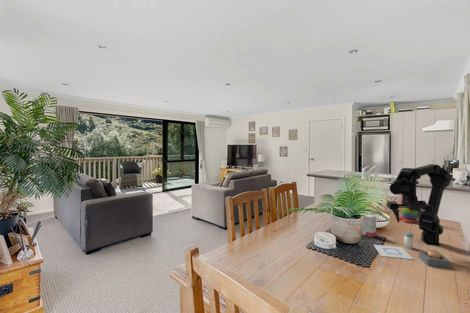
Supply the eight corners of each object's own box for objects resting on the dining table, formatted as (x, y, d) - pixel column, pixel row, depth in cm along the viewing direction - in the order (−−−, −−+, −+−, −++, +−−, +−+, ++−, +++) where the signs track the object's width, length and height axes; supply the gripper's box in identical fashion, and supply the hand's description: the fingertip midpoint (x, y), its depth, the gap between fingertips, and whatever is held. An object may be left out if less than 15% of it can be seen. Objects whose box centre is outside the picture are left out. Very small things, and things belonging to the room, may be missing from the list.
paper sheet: (401, 247, 120) (401, 247, 120) (413, 259, 107) (413, 258, 107) (373, 245, 123) (373, 244, 123) (381, 256, 111) (381, 255, 111)
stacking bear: (396, 218, 168) (397, 194, 167) (411, 218, 167) (412, 194, 166) (406, 223, 157) (406, 197, 156) (422, 223, 156) (423, 197, 155)
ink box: (376, 236, 136) (376, 216, 135) (372, 238, 133) (372, 217, 132) (361, 231, 143) (361, 212, 143) (357, 233, 140) (357, 214, 140)
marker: (411, 246, 121) (411, 233, 121) (414, 249, 118) (414, 235, 118) (402, 245, 122) (403, 232, 122) (405, 248, 119) (406, 235, 119)
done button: (436, 255, 106) (436, 250, 106) (442, 260, 102) (442, 255, 102) (425, 254, 107) (425, 249, 107) (430, 259, 103) (430, 253, 103)
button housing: (439, 259, 107) (439, 252, 107) (449, 267, 100) (450, 261, 100) (418, 257, 110) (418, 250, 109) (427, 265, 102) (427, 258, 102)
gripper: (393, 195, 114) (393, 226, 114) (440, 197, 108) (439, 230, 109) (386, 191, 124) (385, 219, 125) (427, 192, 119) (427, 222, 120)
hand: (408, 222), depth 119 cm, fingers open, 9 cm apart
